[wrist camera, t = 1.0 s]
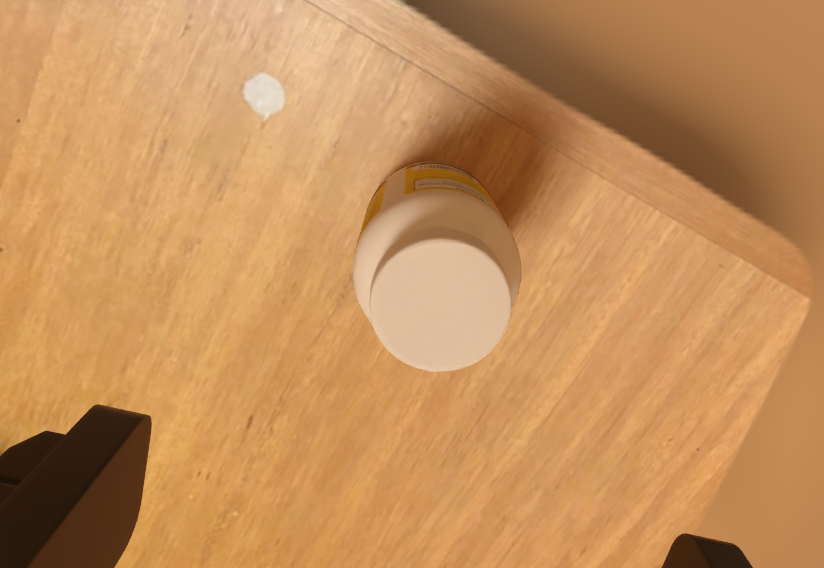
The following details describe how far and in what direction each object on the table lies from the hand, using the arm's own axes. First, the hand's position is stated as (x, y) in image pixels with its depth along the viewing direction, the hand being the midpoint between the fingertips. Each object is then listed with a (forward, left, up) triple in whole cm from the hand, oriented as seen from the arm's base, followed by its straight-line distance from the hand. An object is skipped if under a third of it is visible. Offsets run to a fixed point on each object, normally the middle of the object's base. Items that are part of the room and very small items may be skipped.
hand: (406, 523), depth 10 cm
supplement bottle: (0, +1, -19) cm, 19 cm away
